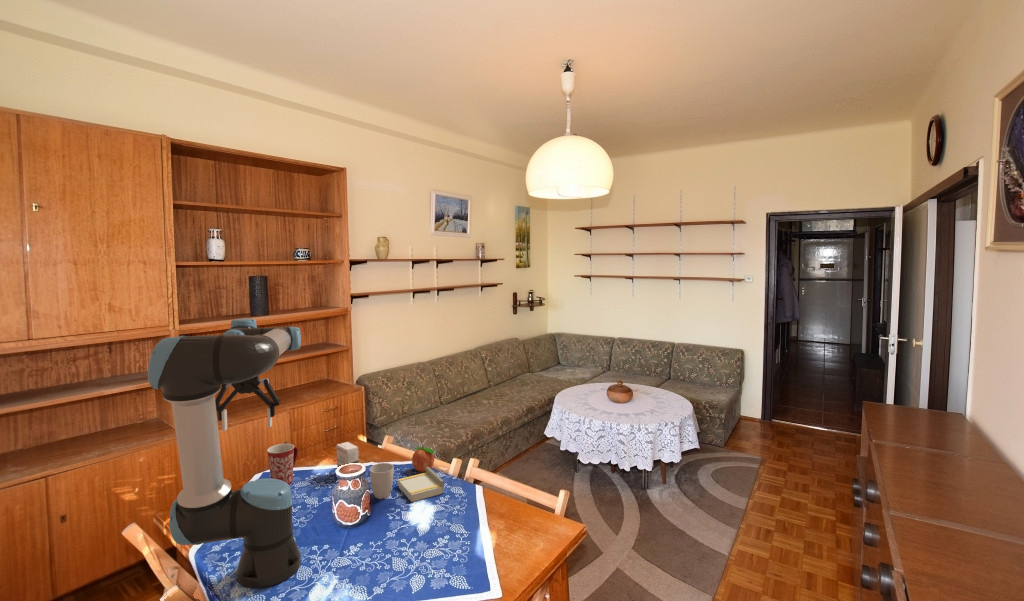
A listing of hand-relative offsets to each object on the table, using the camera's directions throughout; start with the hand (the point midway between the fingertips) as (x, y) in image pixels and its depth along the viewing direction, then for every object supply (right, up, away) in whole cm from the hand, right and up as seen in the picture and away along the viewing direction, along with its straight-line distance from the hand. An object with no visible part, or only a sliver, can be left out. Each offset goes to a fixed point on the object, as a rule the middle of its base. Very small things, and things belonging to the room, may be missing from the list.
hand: (247, 428), depth 162 cm
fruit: (+53, -24, +28) cm, 65 cm away
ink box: (+26, -25, +24) cm, 43 cm away
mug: (+4, -25, +18) cm, 31 cm away
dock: (+55, -25, +12) cm, 62 cm away
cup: (+43, -26, +8) cm, 51 cm away
